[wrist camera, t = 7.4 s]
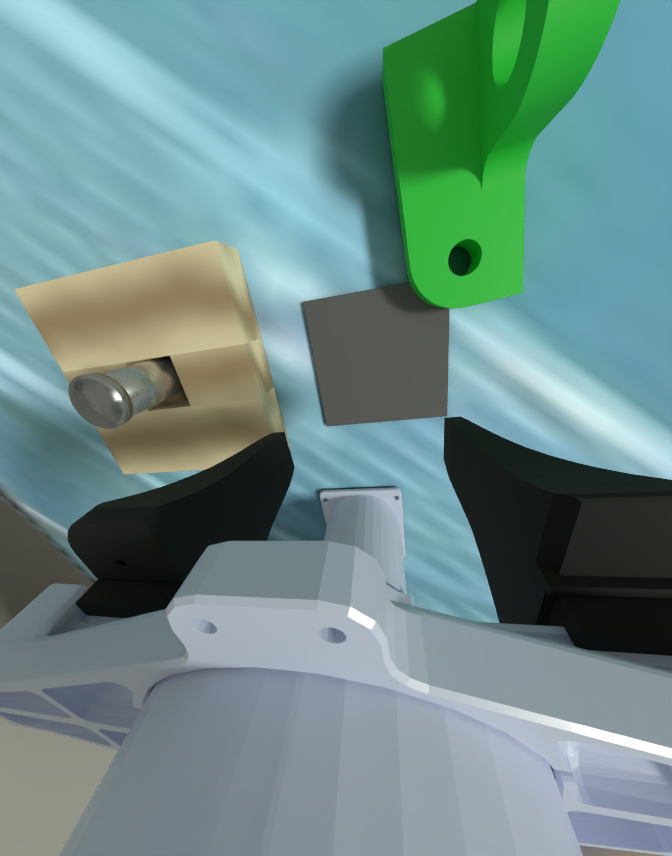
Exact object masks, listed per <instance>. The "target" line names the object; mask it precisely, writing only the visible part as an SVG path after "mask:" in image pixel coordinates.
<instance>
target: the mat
mask: <svg viewBox="0 0 672 856" xmlns="http://www.w3.org/2000/svg"><path fill="white" fill-rule="evenodd" d="M303 304H304V309H305V314H306V319H307V325H308V330H309V335H310V341H311V346H312V351H313V356H314V362H315V367H316V372H317V378H318V383H319V388H320V393H321V399H322V404H323V409H324V414H325V420H326V425H327V426H337V425H348V424H360V423H372V422H383V421H395V420H407V419H418V418H430V417H442V416H447V394H448V347H449V308H439V307H435V306H432V305H430V304H428V303H426V302H424V301H423V300H422V299H421V298H419V297H418V295H417V294H416V293H415V292H414V290H413V288H412V287H411V284H410V283H405V284H399V285H394V286H388V287H383V288H377V289H372V290H366V291H361V292H355V293H350V294H344V295H338V296H333V297H327V298H322V299H316V300H311V301H305V302H303Z"/></svg>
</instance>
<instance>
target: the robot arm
mask: <svg viewBox="0 0 672 856" xmlns="http://www.w3.org/2000/svg"><path fill="white" fill-rule="evenodd" d="M444 461H445V465H446V469H447V472H448V476H449V479H450V481H451V483H452V485H453V488H454V490H455V492H456V494H457V497H458V499H459V501H460V503H461V505H462V508H463V510H464V512H465V514H466V517H467V519H468V521H469V524H470V526H471V529H472V531H473V534H474V537H475V540H476V544H477V547H478V550H479V553H480V556H481V559H482V563H483V566H484V569H485V573H486V576H487V579H488V583H489V586H490V590H491V593H492V597H493V600H494V604H495V608H496V611H497V615H498V619H499V622H500V623H488V622H475V621H471V620H467V619H463V618H459V617H455V616H451V615H447V614H443V613H439V612H435V611H431V610H427V609H423V608H419V607H415V606H413V598H412V596H411V595H408V594H407V592H406V582H405V573H404V563H403V558H405V556H406V555H405V540H404V525H403V510H402V495H401V490H400V489H399V488H396V487H393V488H367V489H341V490H322V491H321V492H320V500H321V504H322V508H323V513H324V517H325V521H326V526H327V527H326V532H325V537H324V541H267V539H268V536H269V532H270V530H271V527H272V525H273V522H274V520H275V518H276V515H277V513H278V511H279V509H280V506H281V504H282V502H283V500H284V497H285V495H286V493H287V490H288V488H289V486H290V483H291V479H292V475H293V471H294V464H293V460H292V457H291V453H290V449H289V446H288V442H287V439H286V435H285V432H275V433H271V434H268V435H266V436H265V437H263V438H261V439H259V440H258V441H256V442H254V443H253V444H251V445H249V446H248V447H246V448H244V449H243V450H241V451H239V452H238V453H236V454H234V455H232V456H231V457H229V458H227V459H225V460H224V461H222V462H220V463H218V464H216V465H214V466H212V467H210V468H208V469H206V470H204V471H201V472H199V473H197V474H195V475H192V476H190V477H187V478H184V479H182V480H179V481H177V482H174V483H172V484H169V485H166V486H163V487H160V488H157V489H153V490H150V491H147V492H143V493H140V494H136V495H132V496H128V497H124V498H120V499H116V500H112V501H108V502H104V503H101V504H99V505H97V506H96V507H94V508H93V509H92V510H90V511H89V512H88V513H86V514H85V515H84V516H83V517H81V518H80V519H79V520H77V521H76V522H75V523H73V524H72V525H71V526H70V528H69V530H68V541H69V544H70V546H71V548H72V549H73V551H74V552H75V553H76V555H77V556H78V557H79V558H80V559H81V560H82V562H83V563H84V564H85V565H86V566H87V567H88V569H89V570H90V571H91V572H92V573H93V574H94V575H95V577H96V578H97V579H98V580H97V581H96V582H95V583H94V584H93V585H92V586H91V587H90V588H87V587H85V586H83V585H78V584H51V585H50V586H49V587H48V588H47V589H46V590H44V591H43V592H42V593H41V594H40V595H39V596H38V597H37V598H36V599H34V600H33V601H32V602H31V603H30V604H29V605H28V606H27V607H26V608H25V609H23V610H22V611H21V612H20V613H19V614H18V615H17V616H16V617H14V619H12V620H11V621H10V622H9V623H8V624H7V625H6V626H5V627H3V628H2V629H1V630H0V717H1V718H3V719H5V720H7V721H8V722H10V723H12V724H14V725H17V726H23V727H27V728H32V729H37V730H42V731H47V732H51V733H55V734H59V735H63V736H67V737H71V738H75V739H79V740H82V741H86V742H90V743H94V744H97V745H101V746H104V747H108V748H111V749H116V750H118V752H117V754H116V755H115V757H114V759H113V761H112V762H111V764H110V766H109V768H108V770H107V771H106V773H105V775H104V777H103V778H102V780H101V782H100V784H99V786H98V787H97V789H96V791H95V793H94V795H93V796H92V798H91V800H90V802H89V804H88V805H87V807H86V809H85V810H84V812H83V814H82V816H81V818H80V820H79V821H78V823H77V825H76V827H75V828H74V830H73V832H72V834H71V835H70V837H69V839H68V841H67V843H66V844H65V846H64V848H63V850H62V851H61V853H60V855H59V856H583V854H582V852H581V849H580V846H579V845H584V846H592V847H600V848H609V849H617V850H625V851H633V852H641V853H650V854H658V855H666V856H672V480H668V479H661V478H654V477H647V476H641V475H634V474H628V473H622V472H617V471H612V470H607V469H602V468H597V467H592V466H588V465H583V464H579V463H575V462H572V461H568V460H564V459H560V458H557V457H553V456H550V455H547V454H544V453H541V452H538V451H535V450H532V449H529V448H526V447H524V446H521V445H519V444H516V443H514V442H511V441H509V440H507V439H505V438H502V437H500V436H498V435H496V434H494V433H492V432H490V431H488V430H486V429H484V428H482V427H480V426H478V425H476V424H474V423H473V422H471V421H469V420H467V419H465V418H462V417H451V418H445V423H444ZM394 496H398V497H394ZM324 498H326V499H327V500H325V499H324Z"/></svg>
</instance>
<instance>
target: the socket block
mask: <svg viewBox="0 0 672 856" xmlns="http://www.w3.org/2000/svg"><path fill="white" fill-rule="evenodd" d="M14 290H15V292H16V294H17V295H18V297H19V299H20V300H21V302H22V304H23V305H24V307H25V309H26V310H27V312H28V314H29V316H30V317H31V319H32V321H33V322H34V324H35V326H36V327H37V329H38V331H39V332H40V334H41V336H42V337H43V339H44V341H45V342H46V344H47V346H48V347H49V349H50V351H51V352H52V354H53V356H54V358H55V359H56V361H57V363H58V364H59V366H60V368H61V369H62V371H63V373H64V374H65V376H66V378H67V379H68V381H69V383H70V382H71V381H72V379H74V378H75V377H77V376H80V375H84V374H88V373H93V372H97V373H105V372H109V371H113V370H116V369H120V368H124V367H127V366H131V365H135V364H138V363H142V362H146V361H149V360H153V359H157V358H160V357H164V356H170V357H171V360H172V362H173V365H174V367H175V369H176V372H177V374H178V377H179V379H180V382H181V384H182V386H183V389H184V391H182V392H180V393H178V394H176V395H174V396H172V397H170V398H168V399H166V400H164V401H162V402H160V403H158V404H156V405H154V406H152V407H150V408H148V409H146V410H144V411H142V412H140V413H138V414H136V415H134V416H132V417H131V419H130V420H129V421H128V422H127V423H125V424H123V425H121V426H119V427H117V428H114V429H104V428H100V427H97V426H96V428H97V430H98V431H99V433H100V435H101V437H102V438H103V440H104V442H105V443H106V445H107V447H108V448H109V450H110V452H111V453H112V455H113V457H114V458H115V460H116V462H117V463H118V465H119V467H120V468H121V470H122V472H123V473H124V474H138V473H155V472H172V471H189V470H206V469H208V468H210V467H212V466H214V465H216V464H218V463H220V462H222V461H224V460H225V459H227V458H229V457H231V456H232V455H234V454H236V453H238V452H239V451H241V450H243V449H244V448H246V447H248V446H249V445H251V444H253V443H254V442H256V441H258V440H259V439H261V438H263V437H265V436H266V435H268V434H271V433H275V432H285V435H286V439H287V442H288V438H287V434H286V431H285V427H284V423H283V419H282V415H281V412H280V408H279V404H278V400H277V396H276V393H275V389H274V385H273V381H272V377H271V374H270V370H269V366H268V362H267V358H266V355H265V351H264V347H263V343H262V339H261V336H260V332H259V328H258V324H257V321H256V317H255V313H254V309H253V305H252V302H251V298H250V294H249V290H248V286H247V283H246V279H245V275H244V271H243V267H242V264H241V260H240V256H239V252H238V249H236V248H233V247H231V246H228V245H225V244H222V243H220V242H217V241H210V242H206V243H202V244H198V245H194V246H190V247H186V248H181V249H177V250H173V251H169V252H165V253H161V254H157V255H153V256H149V257H145V258H140V259H136V260H132V261H128V262H124V263H120V264H116V265H112V266H108V267H103V268H99V269H95V270H91V271H87V272H83V273H79V274H75V275H71V276H67V277H62V278H58V279H54V280H50V281H46V282H42V283H38V284H34V285H30V286H26V287H21V288H17V289H14ZM288 446H289V442H288ZM289 448H290V446H289Z"/></svg>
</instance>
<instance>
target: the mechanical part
mask: <svg viewBox="0 0 672 856" xmlns="http://www.w3.org/2000/svg"><path fill="white" fill-rule="evenodd" d="M619 3H620V0H477V2H476V3H474V4H472V5H470V6H468V7H466V8H464V9H462V10H460V11H458V12H456V13H454V14H452V15H450V16H448V17H446V18H444V19H442V20H440V21H438V22H436V23H434V24H432V25H430V26H428V27H425V28H423V29H421V30H419V31H417V32H415V33H413V34H411V35H409V36H407V37H405V38H403V39H401V40H399V41H397V42H395V43H393V44H391V45H389V46H387V47H385V48H383V77H382V83H383V90H384V98H385V106H386V114H387V122H388V129H389V137H390V145H391V153H392V160H393V168H394V176H395V184H396V192H397V199H398V207H399V215H400V223H401V231H402V238H403V246H404V254H405V262H406V269H407V275H408V279H409V282H410V284H411V287H412V288H413V290H414V292H415V293H416V294H417V295H418V297H419V298H421V299H422V300H423V301H424V302H426V303H428V304H430V305H432V306H435V307H439V308H463V307H468V306H472V305H476V304H480V303H484V302H488V301H492V300H496V299H500V298H504V297H508V296H512V295H516V294H520V293H523V259H524V203H525V171H526V164H527V159H528V156H529V152H530V149H531V147H532V144H533V142H534V140H535V139H536V137H537V136H538V135H539V133H540V132H541V131H542V130H543V129H544V128H545V127H546V126H547V125H548V124H549V123H550V122H551V120H552V119H553V118H554V117H555V116H556V115H557V114H558V113H559V112H560V111H561V110H562V109H563V107H564V106H565V105H566V104H567V103H568V102H569V101H570V100H571V99H572V97H573V96H574V95H575V93H576V92H577V91H578V89H579V88H580V86H581V85H582V83H583V82H584V80H585V78H586V77H587V75H588V73H589V71H590V70H591V68H592V66H593V64H594V62H595V60H596V58H597V56H598V54H599V52H600V49H601V47H602V45H603V43H604V41H605V38H606V36H607V34H608V31H609V29H610V26H611V24H612V21H613V19H614V16H615V14H616V11H617V8H618V5H619ZM454 247H463V248H465V249H466V250H467V251H468V252H469V254H470V258H471V262H470V266H469V269H468V270H467V272H466V273H465V274H464V275H463V276H457V275H455V274H454V273H452V271H451V270H450V268H449V265H448V258H449V254H450V252H451V250H452V248H454Z"/></svg>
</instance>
